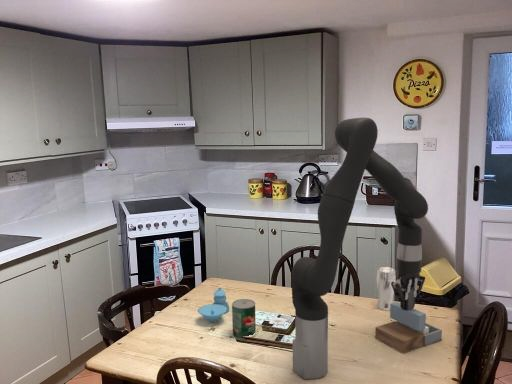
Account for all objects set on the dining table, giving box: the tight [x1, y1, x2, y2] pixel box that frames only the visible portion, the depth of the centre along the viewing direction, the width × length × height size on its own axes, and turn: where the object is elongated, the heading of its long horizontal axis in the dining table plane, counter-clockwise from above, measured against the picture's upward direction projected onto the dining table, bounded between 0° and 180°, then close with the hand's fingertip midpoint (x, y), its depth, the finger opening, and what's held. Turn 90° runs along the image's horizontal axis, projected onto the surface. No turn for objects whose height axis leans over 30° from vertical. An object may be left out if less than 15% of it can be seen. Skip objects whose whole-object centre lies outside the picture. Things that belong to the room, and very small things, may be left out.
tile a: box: [412, 326, 429, 335], centre depth 153 cm, size 4×4×2 cm
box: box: [395, 320, 443, 347], centre depth 157 cm, size 8×13×4 cm, turn 30°
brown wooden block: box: [374, 320, 424, 354], centre depth 152 cm, size 9×12×4 cm
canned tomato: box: [231, 298, 257, 340], centre depth 159 cm, size 8×8×11 cm
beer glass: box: [376, 266, 397, 311], centre depth 180 cm, size 7×7×15 cm
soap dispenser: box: [197, 287, 230, 324], centre depth 174 cm, size 18×10×9 cm, turn 167°
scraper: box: [389, 288, 427, 331], centre depth 153 cm, size 3×12×12 cm, turn 31°
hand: (407, 308), depth 153 cm, fingers closed on scraper, 2 cm apart
